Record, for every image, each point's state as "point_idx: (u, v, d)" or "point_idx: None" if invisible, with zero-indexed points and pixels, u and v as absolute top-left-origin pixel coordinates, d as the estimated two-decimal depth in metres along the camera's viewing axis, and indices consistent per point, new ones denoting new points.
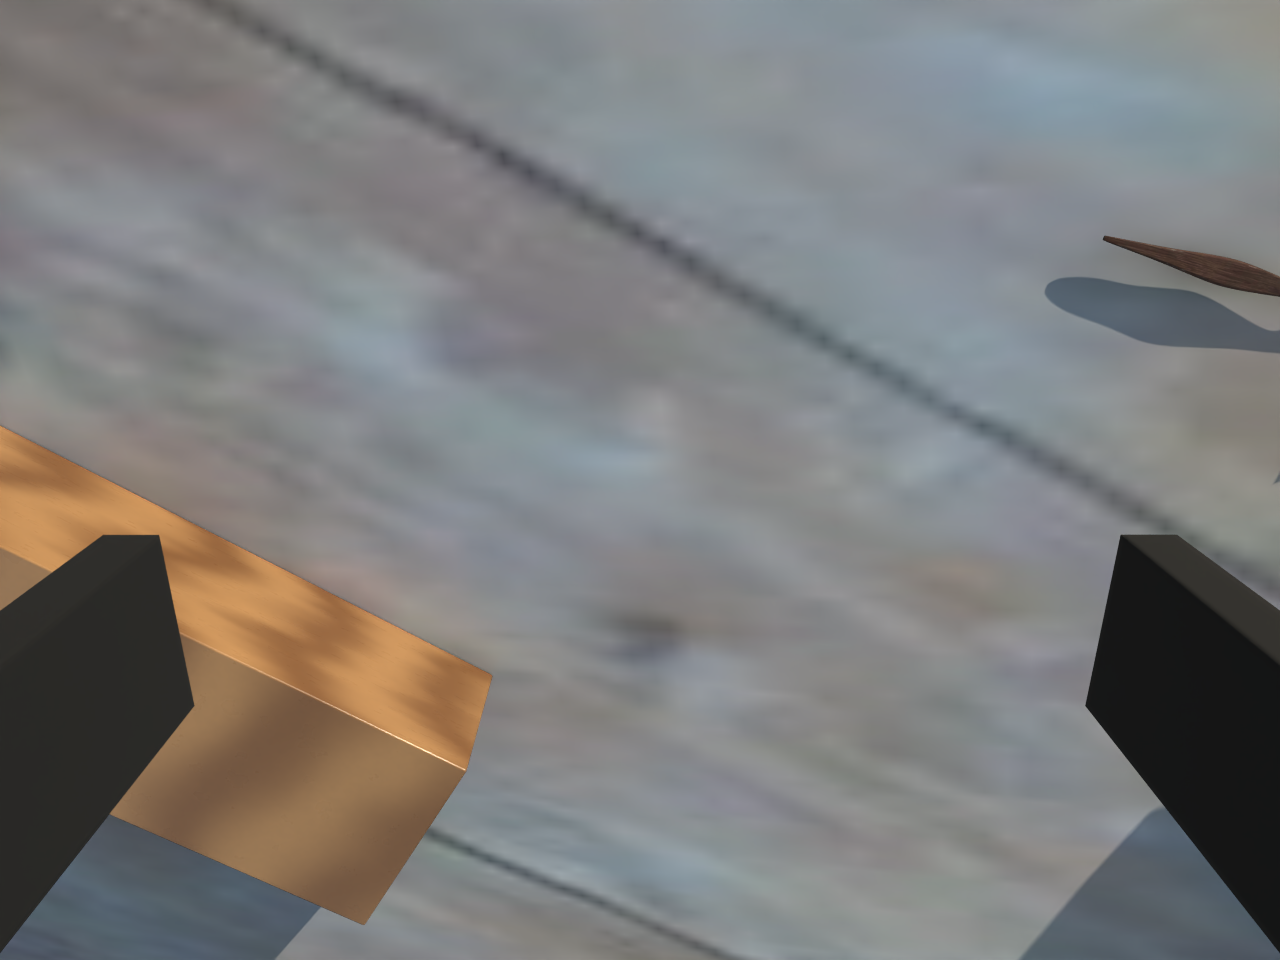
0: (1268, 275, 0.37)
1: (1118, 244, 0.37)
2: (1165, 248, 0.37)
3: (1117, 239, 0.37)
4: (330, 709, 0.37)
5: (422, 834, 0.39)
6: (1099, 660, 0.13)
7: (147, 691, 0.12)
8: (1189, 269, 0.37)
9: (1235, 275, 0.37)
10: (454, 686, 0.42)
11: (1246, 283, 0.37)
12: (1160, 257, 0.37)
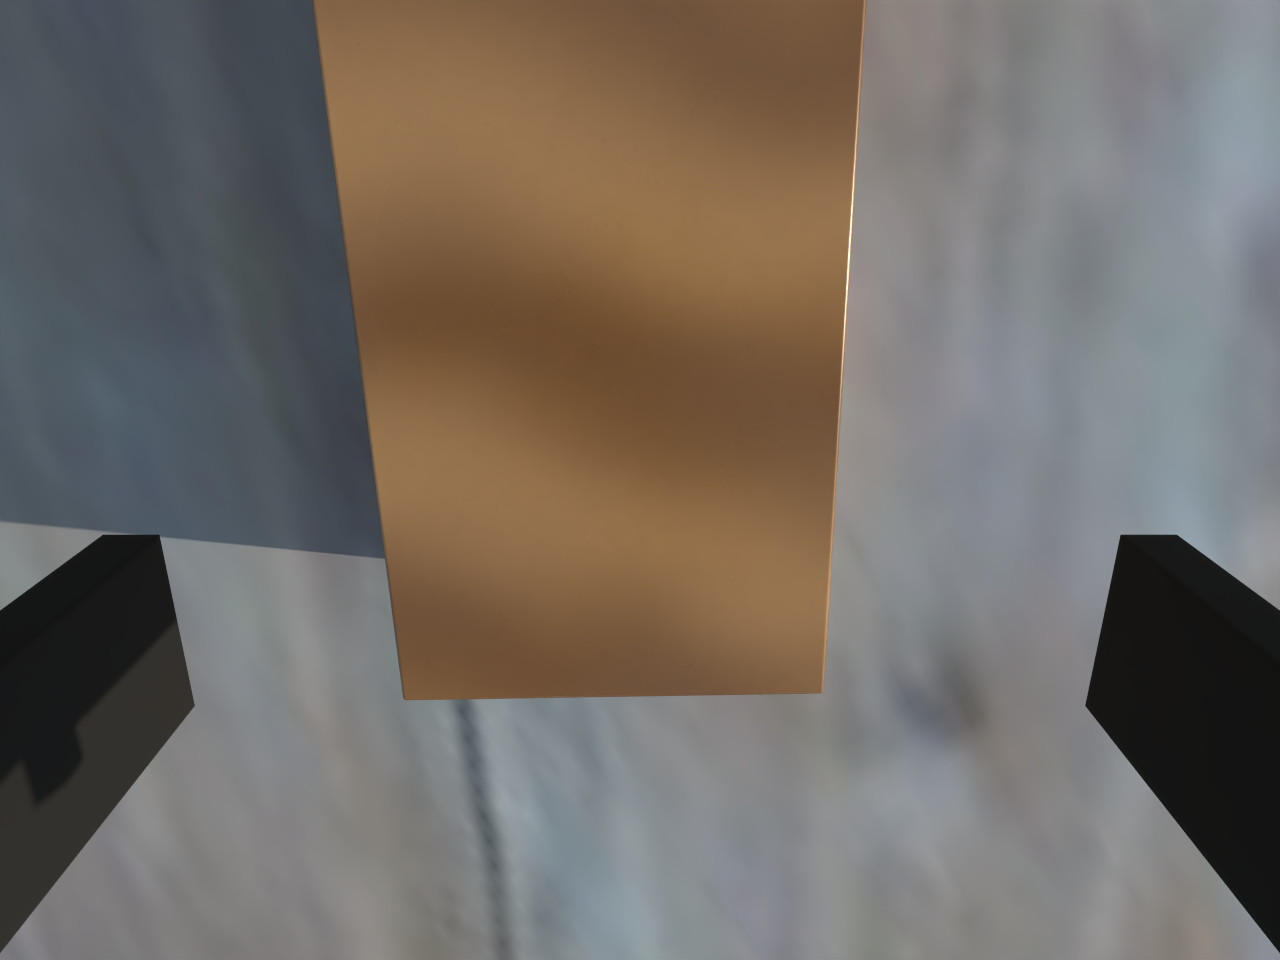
0: None
1: None
2: None
3: None
4: (830, 448, 0.19)
5: (657, 694, 0.22)
6: (1099, 660, 0.13)
7: (147, 691, 0.12)
8: None
9: None
10: None
11: None
12: None
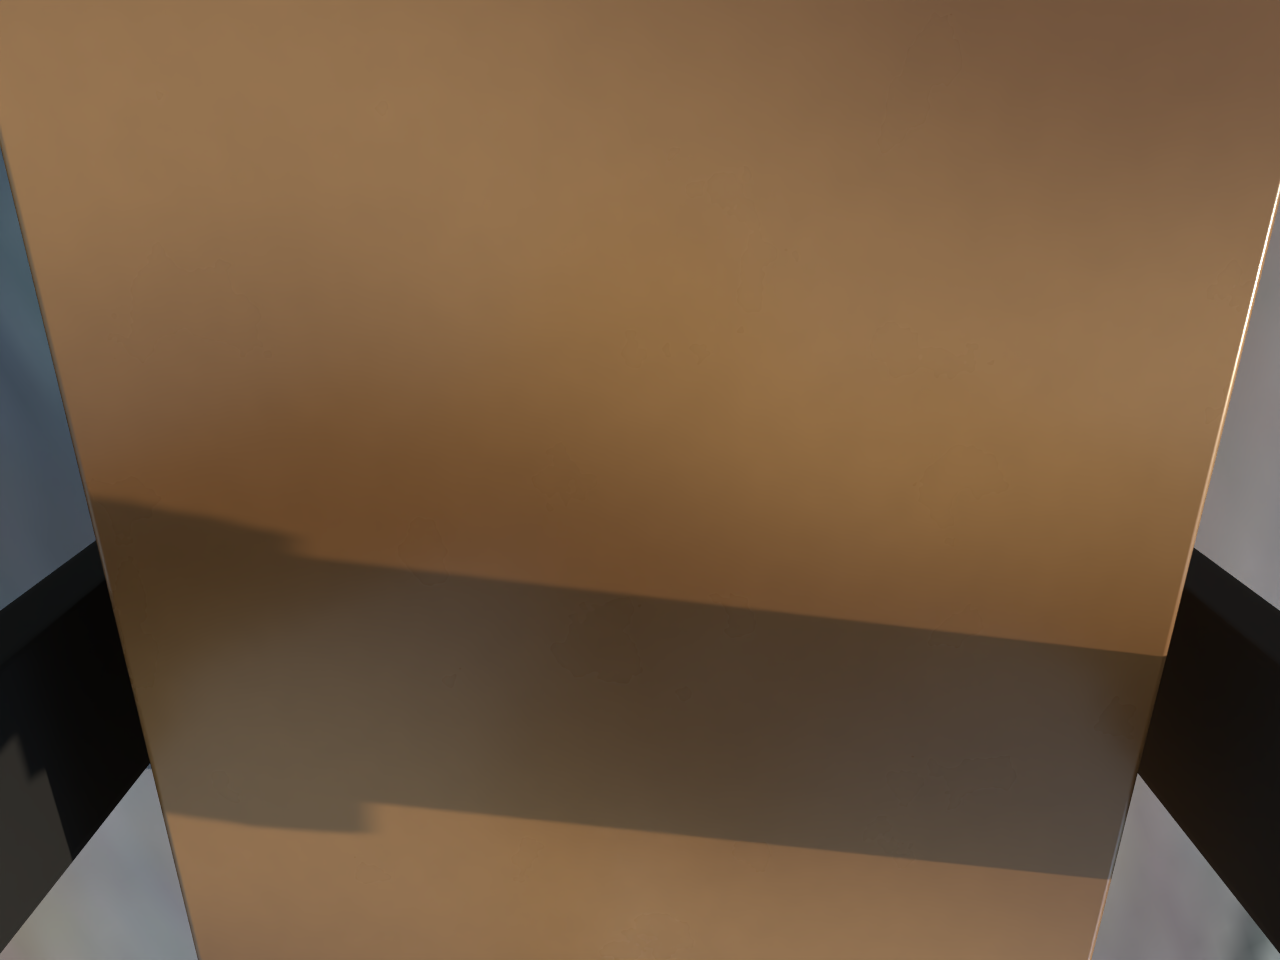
0: None
1: None
2: None
3: None
4: (1117, 802, 0.09)
5: None
6: None
7: None
8: None
9: None
10: None
11: None
12: None
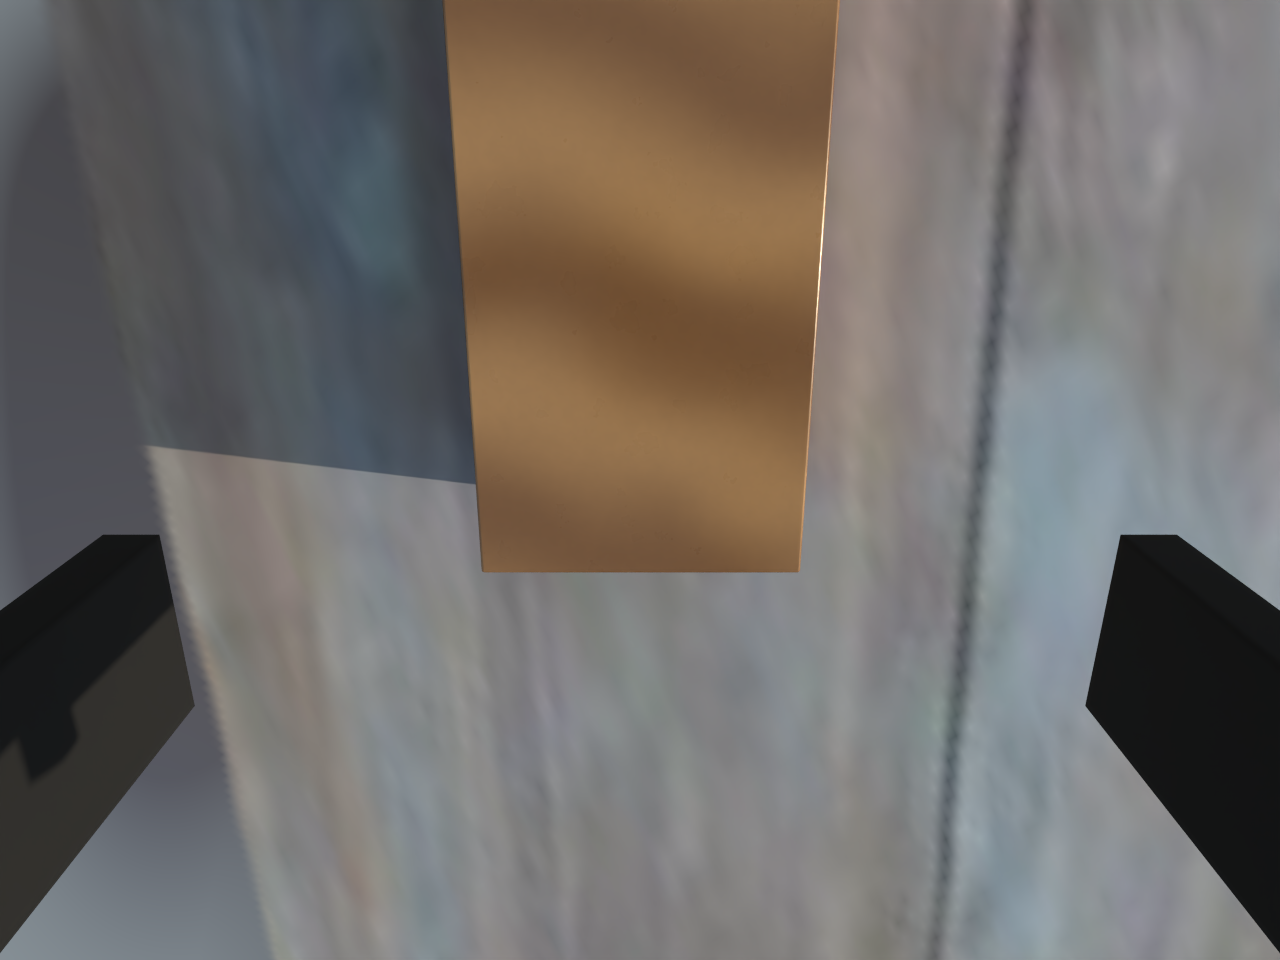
0: None
1: None
2: None
3: None
4: (807, 382, 0.26)
5: (674, 570, 0.29)
6: (1099, 660, 0.13)
7: (147, 690, 0.12)
8: None
9: None
10: None
11: None
12: None
